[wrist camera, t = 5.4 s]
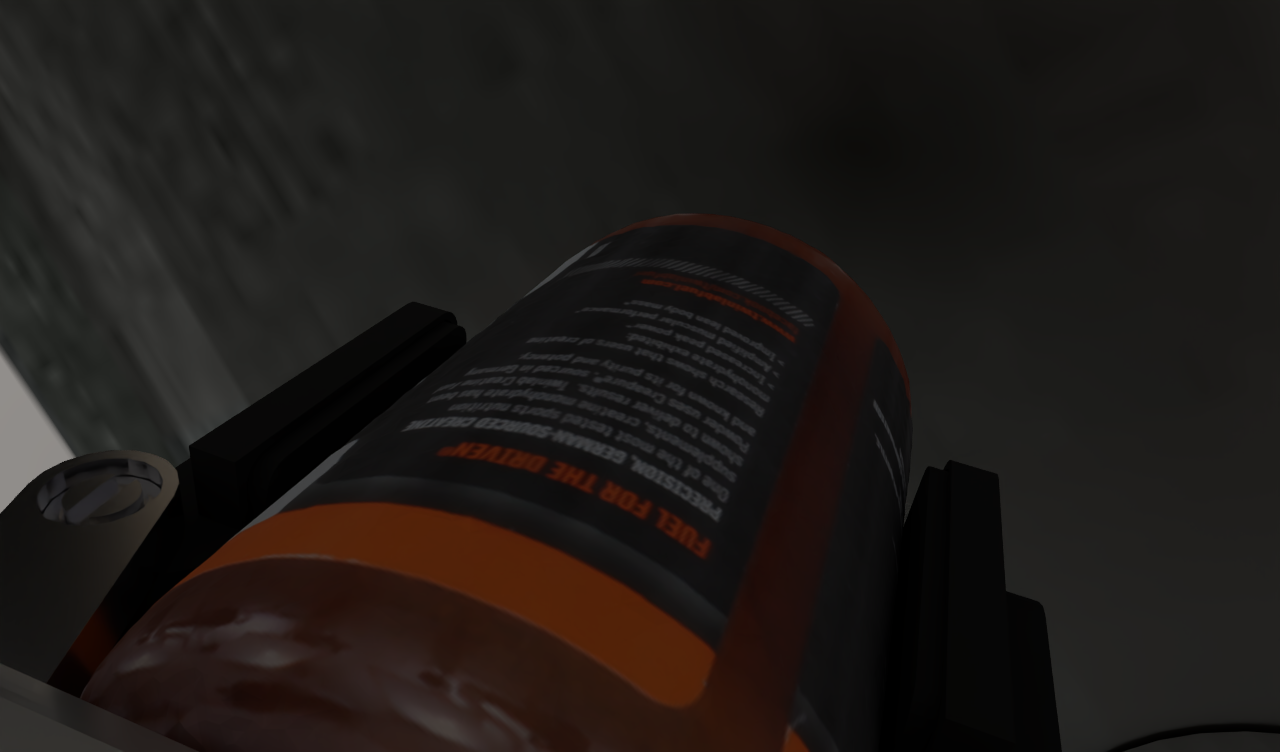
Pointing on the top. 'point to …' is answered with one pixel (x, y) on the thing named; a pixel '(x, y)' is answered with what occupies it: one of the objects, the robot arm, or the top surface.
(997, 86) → the top surface
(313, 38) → the top surface
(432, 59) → the top surface
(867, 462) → the supplement bottle
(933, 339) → the top surface
